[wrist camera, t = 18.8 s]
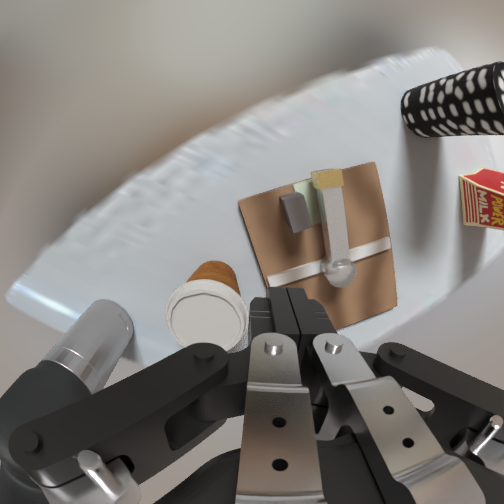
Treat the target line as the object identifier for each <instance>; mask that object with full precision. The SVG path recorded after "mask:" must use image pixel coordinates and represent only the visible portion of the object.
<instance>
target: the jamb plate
mask: <svg viewBox="0 0 504 504" xmlns="http://www.w3.org/2000/svg"><path fill="white" fill-rule="evenodd" d="M342 176H343V182H344V186H341V188H342V195H343V202H344V210H345V218H346V226H347V235H348V245H349V256H350V260H351V261H352V262H353V263H354V264H355V266H356V276H355V278H354V280H353V281H352V282H351V283H350V284H349V285H347V286H345V287H340V288H339V287H335V286H333V285H331V284H330V282H329V281H328V279H327V278H326V276H325V275H324V273H323V272H322V270H321V261H322V258H323V257H324V256H325V255H326V253H325V245H324V237H323V230H322V223H321V216H320V209H319V203H318V197H317V191H316V188H314V187H313V183H312V178H310V179H306V180H303V181H300V182H296V183H293V184H289V185H286V186H283V187H280V188H276V189H273V190H270V191H267V192H263V193H260V194H257V195H254V196H251V197H248V198H245V199H242V200H239V201H238V203H239V206H240V208H241V211H242V214H243V217H244V220H245V223H246V226H247V229H248V232H249V235H250V238H251V241H252V244H253V247H254V250H255V253H256V256H257V259H258V262H259V265H260V268H261V271H262V274H263V277H264V280H265V283H266V285H267V287H268V286H269V287H285V288H286V287H294V288H304V290H305V293H306V295H307V297H308V299H315V300H316V301H318V302H319V303H320V304H322V305H323V307H324V309H325V311H326V313H327V315H328V317H329V319H330V320H331V322H332V324H333V326H334V328H335V330H336V329H339V328H342V327H345V326H347V325H350V324H353V323H356V322H358V321H361V320H364V319H366V318H369V317H371V316H374V315H376V314H379V313H381V312H384V311H386V310H389V309H391V308H394V307H396V306H397V293H396V281H395V271H394V262H393V254H392V246H391V239H390V233H389V226H388V220H387V215H386V209H385V204H384V199H383V194H382V190H381V185H380V181H379V176H378V172H377V168H376V164H375V162H369V163H365V164H361V165H358V166H354V167H350V168H346V169H342Z"/></svg>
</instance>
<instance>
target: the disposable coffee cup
mask: <svg viewBox="0 0 504 504" xmlns="http://www.w3.org/2000/svg"><path fill="white" fill-rule="evenodd" d="M165 316H166V320H167V325H168V328H169V331H170V333H171V335H172V336H173V337H174V339H175V340H176V341H177V342H178V343H179V344H180V345H182V346H183V347H184V348H185V347H187V346H189V345H191V344H194V343H201V342H206V343H213V344H216V345H218V346H221V347H222V348H223V349H225V350H226V351H228V350H229V349H231V348H232V347H234V346H235V345H236V344H237V343H238V342H239V340H240V339H241V338H242V337H243V336H244V334H245V332H246V330H247V327H248V319H249V316H248V311H247V308H246V305H245V303H244V301H243V300H242V298H241V295H240V291H239V287H238V283H237V279H236V275H235V273H234V271H233V270H232V268H231V267H230V266H228V265H227V264H225V263H223V262H220V261H209V262H206V263H204V264H202V265H201V266H200V267H199V268H198V269H197V270H196V271H195V272H194V274H193V275H192V276H191V277H190V278H189V279H188V280H187V282H186V283H184V284H183V285H181V286H180V287H178V288H177V289H176V290H175V291H174V292H173V293H172V294H171V296H170V297H169V299H168V301H167V305H166V313H165Z"/></svg>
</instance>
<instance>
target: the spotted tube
mask: <svg viewBox="0 0 504 504" xmlns="http://www.w3.org/2000/svg"><path fill="white" fill-rule="evenodd" d="M401 112H402V116H403V118H404V121H405V122H406V124H407V126H408V127H409V129H410V130H411V131H412V132H414V133H415V134H416V135H418V136H420V137H424V138H428V137H442V136H463V135H504V62H495V63H491V64H487V65H483V66H480V67H476V68H472V69H469V70H466V71H462V72H459V73H456V74H453V75H450V76H446V77H443V78H440V79H437V80H435V81H432V82H429V83H426V84H423V85H420V86H418V87H415V88H412V89H410V90H408V91H407V92H405V93H404V95H403V97H402V100H401Z"/></svg>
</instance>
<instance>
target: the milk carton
mask: <svg viewBox="0 0 504 504" xmlns="http://www.w3.org/2000/svg"><path fill="white" fill-rule="evenodd" d="M459 181H460V190H461V201H462V212H463V225H469V226H479V227H487V228H493V229H499V230H504V173H502V172H499V171H495V170H490V169H486V168H480V169H479V170H477V171H476V172H474V173H472V174H465V175H459Z"/></svg>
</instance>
